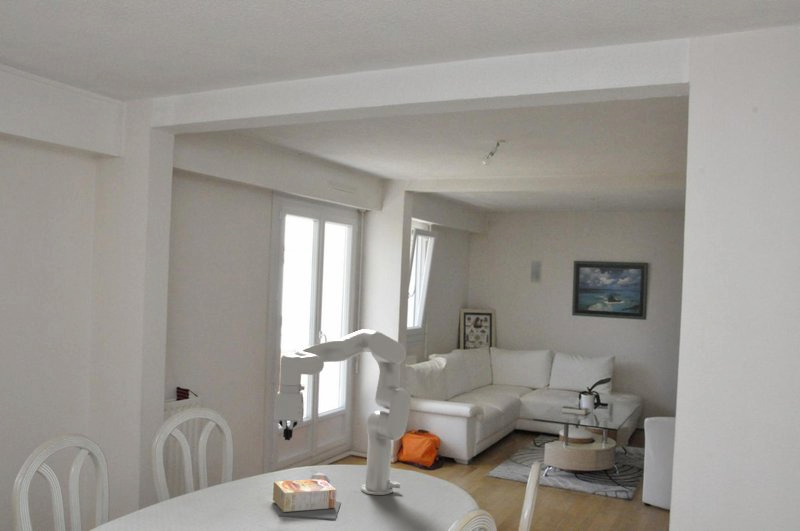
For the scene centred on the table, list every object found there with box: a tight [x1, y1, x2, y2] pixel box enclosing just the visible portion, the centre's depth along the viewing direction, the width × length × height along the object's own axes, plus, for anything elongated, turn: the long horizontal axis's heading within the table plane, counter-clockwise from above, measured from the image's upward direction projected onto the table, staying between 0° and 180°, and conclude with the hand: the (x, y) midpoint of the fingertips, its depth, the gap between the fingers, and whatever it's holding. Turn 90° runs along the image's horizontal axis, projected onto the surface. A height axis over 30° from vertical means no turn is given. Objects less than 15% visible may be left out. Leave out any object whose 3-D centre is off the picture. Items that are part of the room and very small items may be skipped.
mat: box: [278, 501, 342, 521], centre depth 255 cm, size 20×18×1 cm
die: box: [308, 472, 331, 485], centre depth 274 cm, size 8×9×10 cm
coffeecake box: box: [272, 479, 337, 512], centre depth 259 cm, size 15×7×20 cm
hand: (287, 439), depth 256 cm, fingers closed
